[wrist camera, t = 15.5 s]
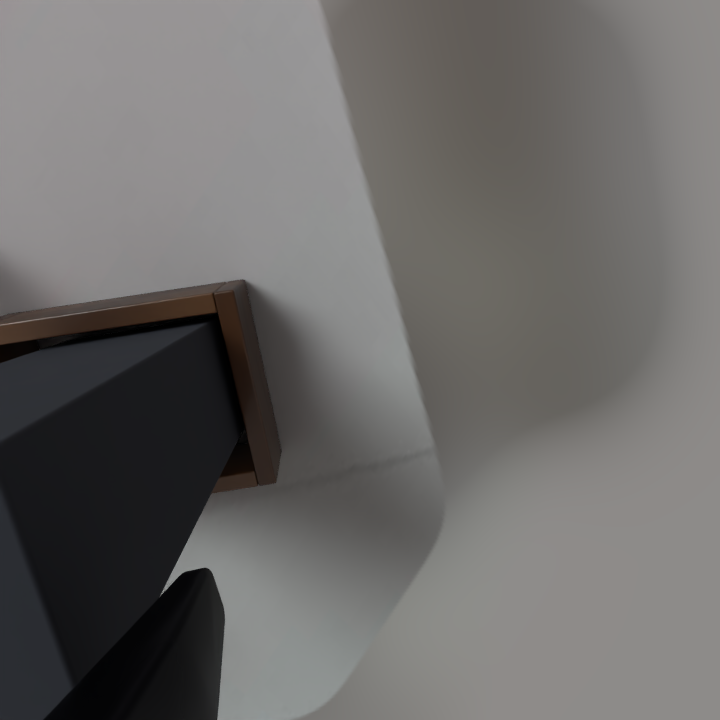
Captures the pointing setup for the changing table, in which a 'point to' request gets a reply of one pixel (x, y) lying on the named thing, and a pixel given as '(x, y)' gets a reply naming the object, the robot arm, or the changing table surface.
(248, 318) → the socket bracket
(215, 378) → the dark grey rectangular block
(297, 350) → the changing table surface
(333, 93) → the changing table surface
